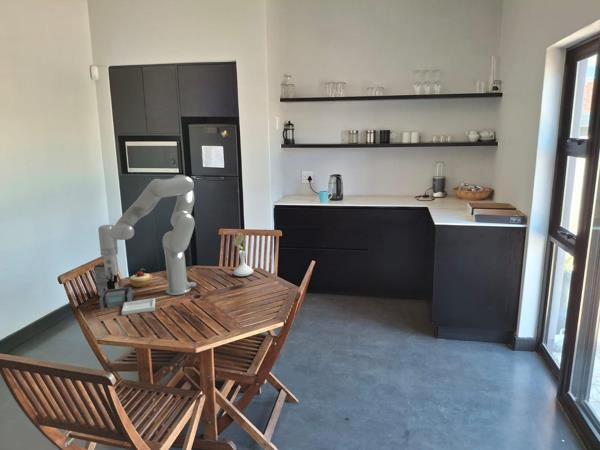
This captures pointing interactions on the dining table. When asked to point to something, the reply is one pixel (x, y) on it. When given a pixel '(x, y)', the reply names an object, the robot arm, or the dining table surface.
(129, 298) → the bay
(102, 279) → the coffee box
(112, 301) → the grey chamfered block
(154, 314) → the dining table surface
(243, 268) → the flower in vase
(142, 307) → the tray
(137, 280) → the pastry
